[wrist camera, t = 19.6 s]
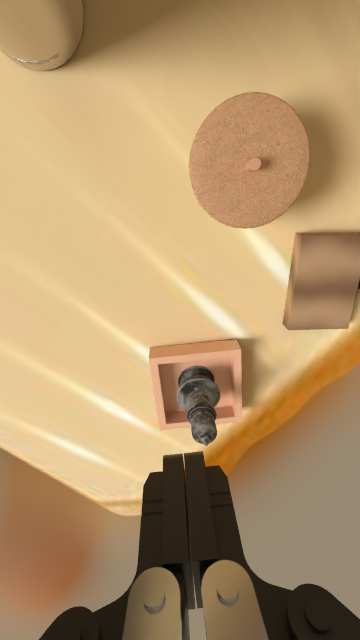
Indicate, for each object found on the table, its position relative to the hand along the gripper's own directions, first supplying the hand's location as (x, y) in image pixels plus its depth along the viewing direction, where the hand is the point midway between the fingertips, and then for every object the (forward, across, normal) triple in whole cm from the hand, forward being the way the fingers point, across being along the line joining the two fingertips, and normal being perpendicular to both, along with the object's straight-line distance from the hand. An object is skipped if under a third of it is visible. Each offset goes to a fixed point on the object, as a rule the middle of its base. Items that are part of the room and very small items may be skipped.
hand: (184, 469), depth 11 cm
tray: (+29, -2, +16) cm, 33 cm away
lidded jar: (+29, -8, -11) cm, 32 cm away
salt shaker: (+29, -2, +16) cm, 33 cm away
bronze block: (+30, -19, +3) cm, 35 cm away
